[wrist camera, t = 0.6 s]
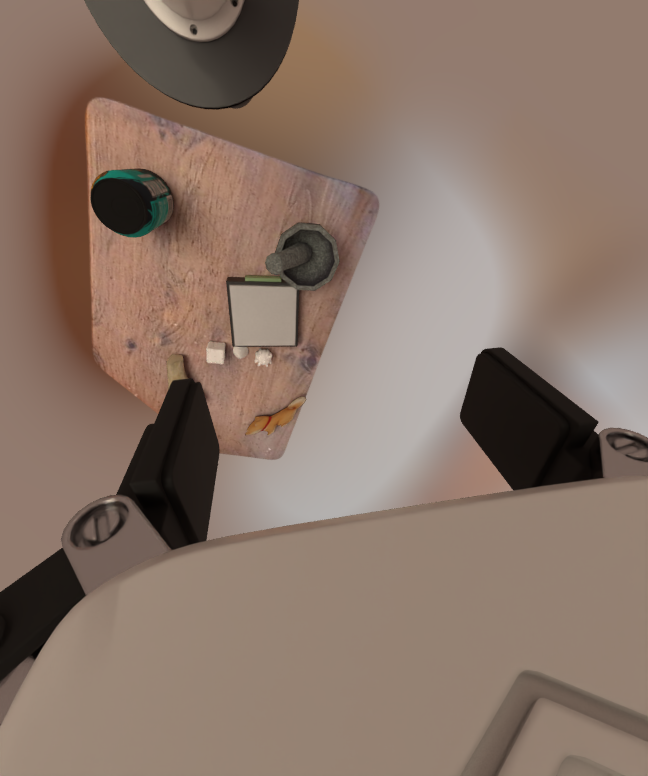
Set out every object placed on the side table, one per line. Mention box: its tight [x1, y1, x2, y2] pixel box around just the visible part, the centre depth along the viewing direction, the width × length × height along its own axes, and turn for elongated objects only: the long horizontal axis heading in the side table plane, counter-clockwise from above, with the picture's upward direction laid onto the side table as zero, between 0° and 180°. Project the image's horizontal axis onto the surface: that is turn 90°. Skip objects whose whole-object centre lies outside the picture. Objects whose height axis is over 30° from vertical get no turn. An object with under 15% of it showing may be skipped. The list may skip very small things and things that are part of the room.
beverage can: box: [91, 169, 174, 237], centre depth 42 cm, size 7×7×12 cm
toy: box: [245, 397, 306, 436], centre depth 72 cm, size 3×17×5 cm
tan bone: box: [166, 354, 188, 390], centre depth 62 cm, size 11×6×5 cm, turn 11°
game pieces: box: [206, 341, 272, 367], centre depth 62 cm, size 12×3×3 cm, turn 79°
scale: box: [226, 275, 299, 347], centre depth 58 cm, size 13×12×3 cm
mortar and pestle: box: [265, 222, 340, 291], centre depth 49 cm, size 11×9×12 cm
